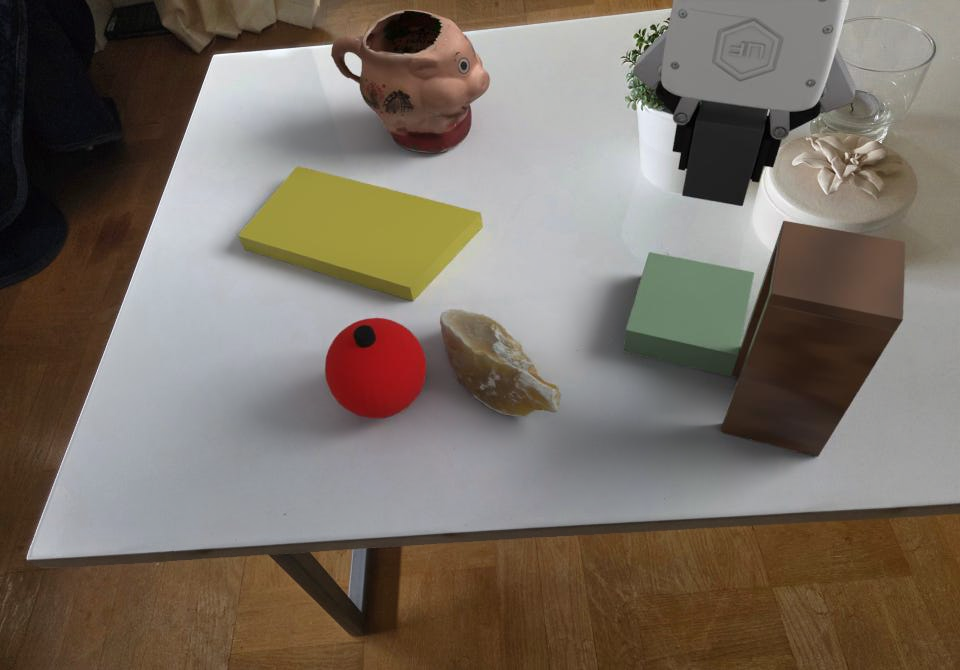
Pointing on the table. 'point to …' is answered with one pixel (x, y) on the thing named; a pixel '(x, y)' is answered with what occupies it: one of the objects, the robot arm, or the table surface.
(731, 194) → the block
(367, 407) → the ornament
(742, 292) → the sage green square slab
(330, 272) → the flat olive board
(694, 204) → the table surface
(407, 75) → the face mug
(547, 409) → the stone
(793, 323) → the tall brown wooden block
